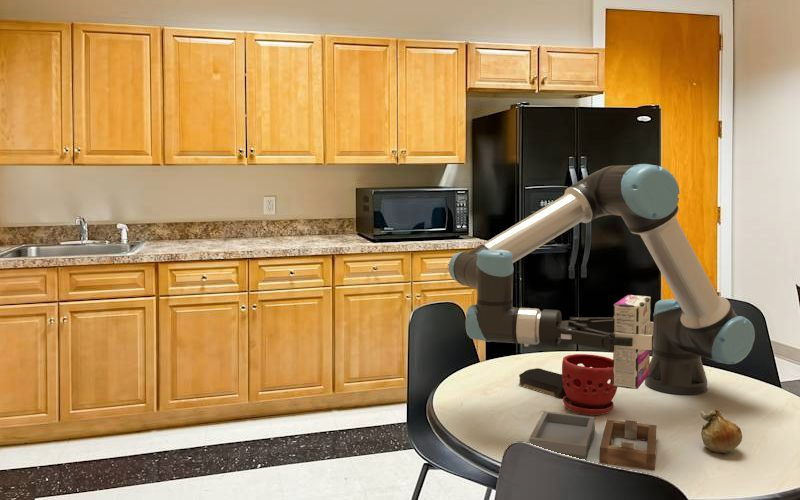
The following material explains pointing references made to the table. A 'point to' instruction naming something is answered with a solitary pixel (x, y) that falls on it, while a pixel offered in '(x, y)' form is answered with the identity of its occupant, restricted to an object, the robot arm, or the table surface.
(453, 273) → the robot arm
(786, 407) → the table surface
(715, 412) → the onion
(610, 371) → the plant pot
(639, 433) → the brown rectangular open box
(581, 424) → the tray
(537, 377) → the black sponge
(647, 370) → the candy bar box
